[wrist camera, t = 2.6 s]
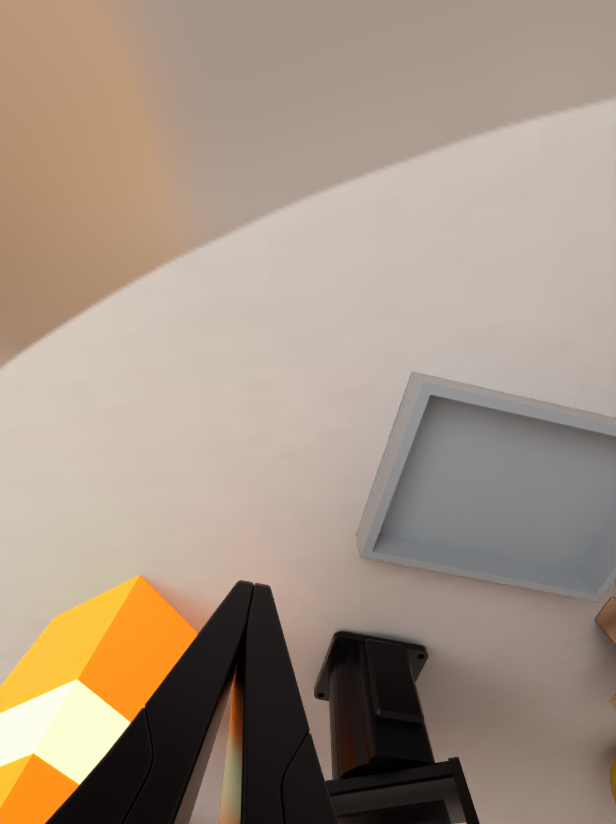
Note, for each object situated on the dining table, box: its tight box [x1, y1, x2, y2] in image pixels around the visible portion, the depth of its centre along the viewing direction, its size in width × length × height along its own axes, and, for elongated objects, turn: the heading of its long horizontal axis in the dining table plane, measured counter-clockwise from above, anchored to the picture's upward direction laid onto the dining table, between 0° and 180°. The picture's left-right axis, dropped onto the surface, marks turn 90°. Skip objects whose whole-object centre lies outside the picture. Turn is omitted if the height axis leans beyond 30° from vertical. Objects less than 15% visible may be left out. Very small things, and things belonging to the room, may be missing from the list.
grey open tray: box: [356, 371, 616, 602], centre depth 18 cm, size 10×14×2 cm
